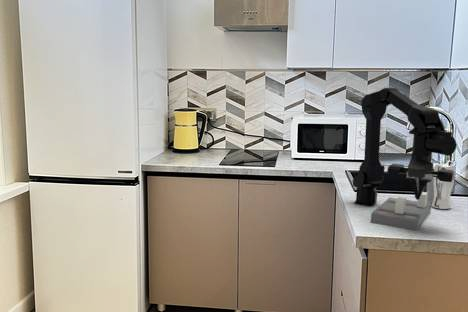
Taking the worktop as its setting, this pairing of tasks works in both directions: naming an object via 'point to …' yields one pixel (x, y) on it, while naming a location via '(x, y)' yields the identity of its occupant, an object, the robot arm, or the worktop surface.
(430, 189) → the light bulb box
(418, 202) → the off-white block
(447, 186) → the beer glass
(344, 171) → the worktop surface
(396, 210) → the off-white switch lever
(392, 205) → the switch panel
